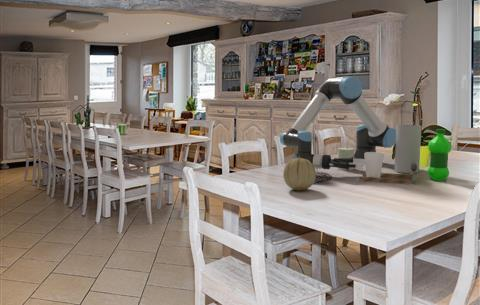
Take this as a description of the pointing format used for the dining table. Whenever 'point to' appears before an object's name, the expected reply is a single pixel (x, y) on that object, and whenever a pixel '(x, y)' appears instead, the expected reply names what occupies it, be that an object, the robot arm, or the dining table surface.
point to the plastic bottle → (439, 156)
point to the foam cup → (373, 163)
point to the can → (345, 154)
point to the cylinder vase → (407, 148)
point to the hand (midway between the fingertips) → (364, 164)
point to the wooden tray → (391, 176)
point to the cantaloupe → (299, 174)
